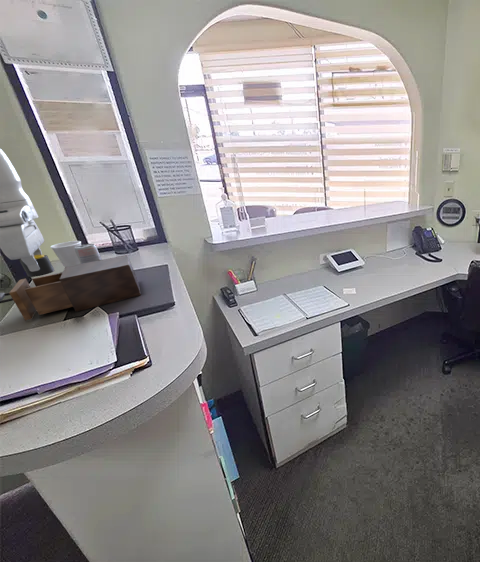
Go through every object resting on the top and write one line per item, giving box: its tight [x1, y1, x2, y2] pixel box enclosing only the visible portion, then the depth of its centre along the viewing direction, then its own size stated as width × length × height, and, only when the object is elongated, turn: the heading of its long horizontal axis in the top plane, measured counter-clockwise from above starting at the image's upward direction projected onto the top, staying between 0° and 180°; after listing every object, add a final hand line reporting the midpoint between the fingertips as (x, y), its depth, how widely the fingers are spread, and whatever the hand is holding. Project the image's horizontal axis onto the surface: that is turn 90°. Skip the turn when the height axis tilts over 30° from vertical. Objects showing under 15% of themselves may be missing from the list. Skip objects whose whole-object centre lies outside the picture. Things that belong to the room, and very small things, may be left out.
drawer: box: [0, 271, 74, 321], centre depth 83 cm, size 18×11×8 cm, turn 128°
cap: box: [19, 254, 55, 278], centre depth 80 cm, size 5×5×4 cm
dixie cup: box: [49, 240, 82, 268], centre depth 114 cm, size 8×8×10 cm
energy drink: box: [74, 243, 103, 264], centre depth 102 cm, size 5×5×12 cm
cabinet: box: [60, 254, 142, 313], centre depth 89 cm, size 15×13×10 cm
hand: (38, 267), depth 80 cm, fingers closed on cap, 5 cm apart
